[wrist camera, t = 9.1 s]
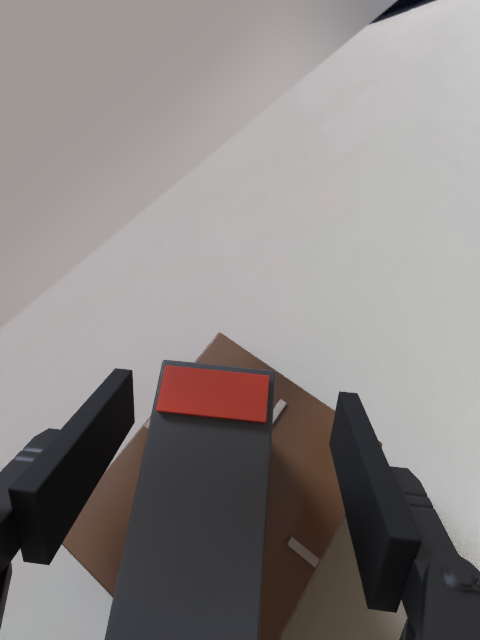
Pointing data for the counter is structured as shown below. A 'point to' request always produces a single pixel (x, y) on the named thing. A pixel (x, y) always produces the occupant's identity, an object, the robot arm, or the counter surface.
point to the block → (199, 509)
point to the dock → (283, 497)
